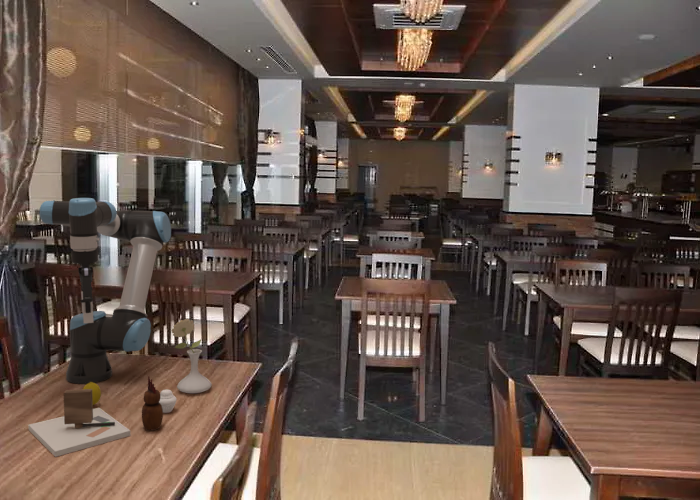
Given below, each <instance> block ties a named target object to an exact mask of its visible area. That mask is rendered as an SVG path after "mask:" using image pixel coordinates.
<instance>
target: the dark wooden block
mask: <svg viewBox="0 0 700 500" xmlns="http://www.w3.org/2000/svg"><path fill="white" fill-rule="evenodd" d="M93 407H94V405H93V399H92V389H83V388H82V389H66V390H64V392H63V416H64V423H65V424H75V428H82V427H91V426H108V425H115V422H106V423H92V420H93V409H94V408H93ZM83 423H88V424H83Z"/></svg>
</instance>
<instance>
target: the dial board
mask: <svg viewBox="0 0 700 500" xmlns="http://www.w3.org/2000/svg"><path fill="white" fill-rule="evenodd" d="M106 422H115V425H108V426H91V427H82V428H75V424H65V423H64V415H63V416H60V417H55V418H51V419H47V420H43V421H39V422H33V423H30V424H28V425H27V427H28V431H29V432H30V433H31V434H32V435H33V436H34V437H35V438H36V439H37V440H38V441H39V442H40V443H41V444H42V445H43V446H44V447H45V448H46V449H47V450H48V451H49V453H51V454H52V455H53V456H54V458H55V457H56V458H57V457H60V456H64V455H68V454H71V453H75V452H77V451H81V450H85V449H88V448H91V447H96V446H100V445H102V444H106V443H109V442H113V441H116V440H120V439H124V438H127V437H130V436H131V435H132V434H131V429H129V428H128V427H126V426H125V425H124V424H122V423H121V422H119V421H118V420H117V419H115V418H114V417H112V415H110V414H109V413H107V412H106V411H104V410H103V409H102V408H100V407H97V408H93V420H92V423H106ZM83 424H88V423H83Z"/></svg>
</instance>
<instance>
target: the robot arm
mask: <svg viewBox="0 0 700 500" xmlns="http://www.w3.org/2000/svg"><path fill="white" fill-rule="evenodd" d="M39 218H40V220H41V222H43V224H46V225H51V226H52V225H56V226H58V225H61V226H66V227H69V231H70V234H69V238H70V239H69V240H70V242H69V243H70V249H72V250H71V251H70V256H71V258H70V259H71V263H72V264H77V265H78V264H80V267H78V268H77V271H78V276H79V283H80V290H81V292H80V293H81V299H80V304H81V312H82V313H79V314H75V315H74V316H73V317H71V319H70V323H69V333H70V335H69V336H70V338H69V339H70V340H69V341H70V359H69V363H68V365H67V369H66V372H65V380H66V381H67V382H68V383H71V384H78V385H79V384H82V385H84V384H85V385H86V384H88V383H90V382H93V383H98V382H99V383H100V382H103V381H106V380H108V379H110V378H111V377H112V376H113V367H112V365H111V362H110V360H109V357H108V355H107V351H120V352H121V351H122V352H123V351H124V352H139V351H141V350H142V349H144V347H146V345H147V343H148V341H149V340H150V337H151V331H152V329H151V327H152V325H151V321H150V320H149V318H148V314H147V313H146V312H145V308H146V304H147V299H148V294H149V289H150V285H151V280H152V276H153V271H154V267H155V263H156V257H157V252H158V251H161V250H162V249H163V245H164V244H165V243H168V242H169V241H170V240H171V236H172V227H171V221H170V217H168V215H167V214H166V212H163V211H156V210H153V211H151V210H150V211H149V210H131V209H128V210H127V209H126V210H117V209H116V207H115V205H114V204H113V203H111V202H110V201H101V200H100V201H96V200H95V198H91V197H76V198H71V199H69V201H67V200H65V201H64V200H46V201H43V202H42V203H41V205H40V207H39ZM98 234H100V235H101V236H105V237H110V238H113V239H117V240H122V241H127V242H130V244H131V246H132V250H131V256H130V258H129V259H130V260H129V264H128V269H127V273H126V275H125V276H126V277H125V281H124V284H123V285H124V286H123V289H122V294H121V297H120V302H119V306H118V307H116V308H115V309H113V313H112V316H107V313H106V311H103V310H96V311H95V310H94V305H93V287H92V282H93V274H94V273H93V272H94V271H93V270H94V269H93V266H90V264H95V263H97V262H98V261H99V250H98V249H97V248H98V242H99V241H100V237H98Z"/></svg>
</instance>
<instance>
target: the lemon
mask: <svg viewBox="0 0 700 500" xmlns="http://www.w3.org/2000/svg"><path fill="white" fill-rule="evenodd" d="M82 389H92V399H93V406H94V405H96V404H97V403H99V401H100V400H101V398H102V397H101V395H102V391H101V388H100V386H99V385H98V384H97V382H95V383H93V382H90V383H86V384H85V385H84V386H83V388H82Z"/></svg>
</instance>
